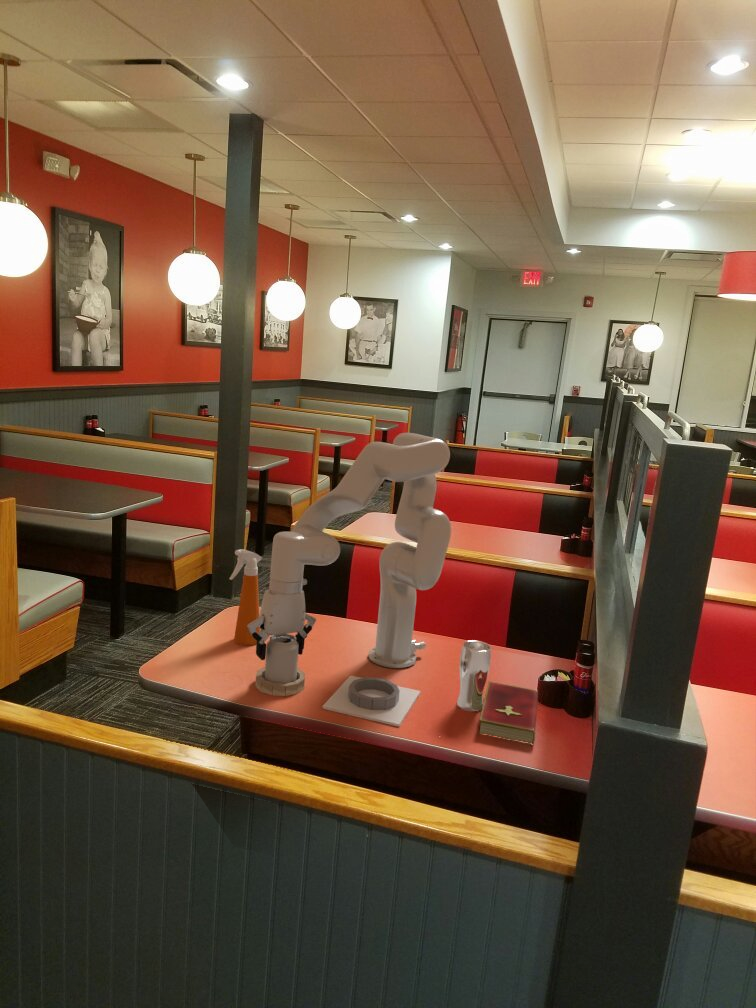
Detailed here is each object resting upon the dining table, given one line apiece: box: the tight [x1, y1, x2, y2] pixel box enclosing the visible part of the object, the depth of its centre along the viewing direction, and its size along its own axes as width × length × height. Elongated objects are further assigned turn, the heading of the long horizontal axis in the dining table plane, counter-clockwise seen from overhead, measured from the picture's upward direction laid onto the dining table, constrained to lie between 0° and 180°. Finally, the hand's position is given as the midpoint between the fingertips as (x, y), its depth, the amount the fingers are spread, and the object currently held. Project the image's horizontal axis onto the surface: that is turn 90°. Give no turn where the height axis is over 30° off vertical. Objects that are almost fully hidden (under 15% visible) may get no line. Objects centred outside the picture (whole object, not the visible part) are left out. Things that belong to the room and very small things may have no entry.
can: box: [264, 633, 299, 684], centre depth 171 cm, size 8×8×12 cm
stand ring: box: [255, 666, 306, 697], centre depth 172 cm, size 11×11×2 cm
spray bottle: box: [229, 548, 263, 646], centre depth 193 cm, size 7×11×26 cm, turn 143°
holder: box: [322, 675, 422, 728], centre depth 168 cm, size 18×18×3 cm
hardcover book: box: [478, 680, 539, 745], centre depth 165 cm, size 12×21×4 cm, turn 166°
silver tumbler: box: [456, 639, 492, 712], centre depth 169 cm, size 7×7×15 cm
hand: (279, 655), depth 170 cm, fingers open, 9 cm apart
